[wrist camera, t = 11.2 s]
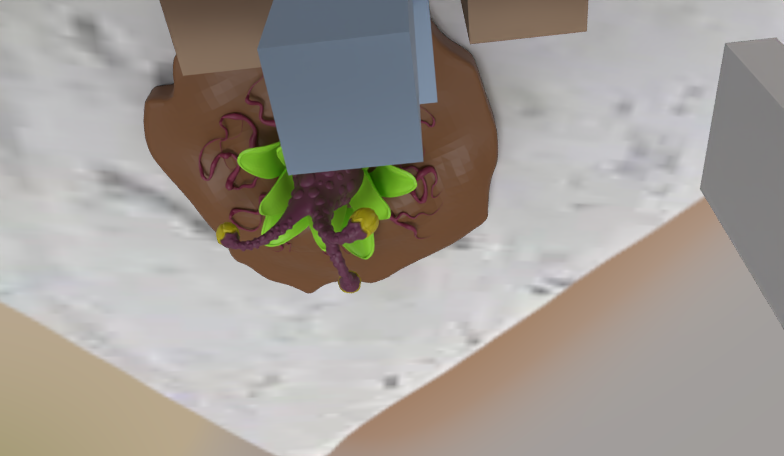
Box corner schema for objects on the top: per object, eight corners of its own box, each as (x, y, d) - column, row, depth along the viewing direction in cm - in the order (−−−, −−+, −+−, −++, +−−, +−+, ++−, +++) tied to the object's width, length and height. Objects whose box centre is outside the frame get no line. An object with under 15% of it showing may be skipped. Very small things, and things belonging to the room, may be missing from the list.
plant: (537, 203, 48) (571, 323, 39) (282, 298, 53) (260, 423, 44) (412, -85, 37) (419, -10, 28) (106, 68, 42) (30, 173, 33)
